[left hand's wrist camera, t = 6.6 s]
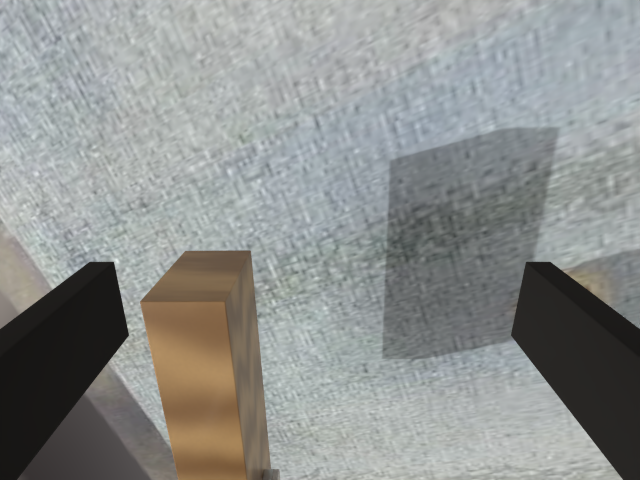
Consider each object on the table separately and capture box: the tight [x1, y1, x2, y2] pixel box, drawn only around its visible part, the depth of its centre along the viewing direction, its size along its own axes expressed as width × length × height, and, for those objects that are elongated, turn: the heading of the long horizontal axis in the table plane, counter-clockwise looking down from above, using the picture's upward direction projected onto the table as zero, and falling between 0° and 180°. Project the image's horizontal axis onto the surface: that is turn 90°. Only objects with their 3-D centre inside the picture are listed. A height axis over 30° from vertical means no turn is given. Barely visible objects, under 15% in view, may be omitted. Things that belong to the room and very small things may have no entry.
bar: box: [140, 251, 271, 480], centre depth 32 cm, size 25×5×8 cm, turn 1°
